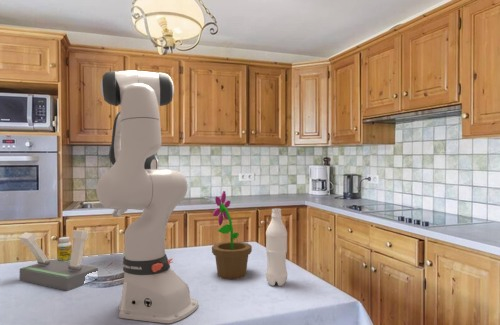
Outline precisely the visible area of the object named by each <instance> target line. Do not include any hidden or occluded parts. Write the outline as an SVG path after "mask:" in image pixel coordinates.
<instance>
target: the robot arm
mask: <svg viewBox="0 0 500 325" xmlns="http://www.w3.org/2000/svg"><path fill="white" fill-rule="evenodd" d="M99 87H100V88H99V90H100V94H101V96H102V97H103V100H104V102H106V103H107V104H108V105H111V106H115V107H118V106H120V111H118V113H116V115H115V117H114V119H113V125H112V135H111V144H110V148H109V152H108V158H109V161H110V162H111V165H112V166H111V167H110V168H109V169H108V170H107V171H106V172H104V173H103V174H102V175H101V176H100V178H99V180H98V181H97V184H96V189H95V190H96V197H97V199H98V201H99V203H100V204H101V205H102V206H103V207H104V208H105V209H110V210H111V209H112V210H113V211H112V213H111V216H112V217H115V218H116V217H117V218H120V217H122V215H123V214H124V213H125V212H127V211H128V210H137V211H142V213H141V215H140V216H139V217H138V218H137V219H136V220H134V221H133V222H131V223H130V224H129V225H128V226H127V227H126V229H125V232H124V256H123V258H122V259H123V260H122V270H123V273H124V275H123V284H122V291H121V298H120V302H119V306H118V310H119V313H118V317H119V318H120V319H127V320H135V321H145V322H151V323H152V322H153V323H158V324H159V323H161V324H172V323H177V322H179V321H181V320H183V319H185V318H187V317H189V316H190V315H191V314H192V313H195V311H196V310H197V309H198V307H199V301H198V300H197V299H193V298H191V294H190V292H191V291H190V288H189V286H188V284H187V283H186V282H185V281H184V280H183V279H182V278H181V277H180V276H179V275H178V274H177V273H176V272H175V271H174V270H172V268H171V265H170V264H171V263H174V262H173V260H174V258H169V259H168V256H167V254H166V231H167V225H168V222H169V219H170V217H171V215H172V213H173V211H174V210H175V208H176V207H177V206H178V205H179V204H180V203H181V202H182V201H183V200H184V199H185V197H186V195H187V193H188V180H187V179H186V177H185V175H184V174H183V173H182V172H181V171H178V170H174V169H170V168H169V169H168V168H160V167H159V166H160V162H159V159H158V158H157V157H156V156H155V155H156V153H158V151H160V149H161V147H162V129H161V115H160V107H163V106H168V105H169V104H170V103H171V102H172V101H173V98H174V95H175V84H174V82H173V80H172V78H171V76H170V75H169V74H168V73H164V72H152V71H140V70H120V71H116V70H110V71H107V72H105V73H104V74H103V75H102V79H101V80H100V84H99Z"/></svg>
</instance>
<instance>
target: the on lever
mask: <svg viewBox="0 0 500 325" xmlns="http://www.w3.org/2000/svg"><path fill="white" fill-rule="evenodd" d="M18 239H19V240H20V242H22V244H25V245H26V247H27V248H28V249H29V251H30V252H31V254H32V255H33V257H34V258H35V260H36V261H37V263H36V264H38V263H39V264H44V265H49V264H50V260H51V259H49V258H47V256H46V254H45V253H44V251H43V249H42V248H41V246H40V245H39V244H38V242H37V240H38V237H36V235H35V234H34V233H33V232H26V231H25V232H24V233H23V234H21V235H20V236H19V237H18Z"/></svg>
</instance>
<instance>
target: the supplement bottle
mask: <svg viewBox="0 0 500 325" xmlns="http://www.w3.org/2000/svg"><path fill="white" fill-rule="evenodd" d="M72 247H73V242H71V237H70V236H62V237H59V238H58V243H57V245H56V252H57V253H56V257H57V259H56V260H57V261H63V262H68V263H70V259H71V253H72Z"/></svg>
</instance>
